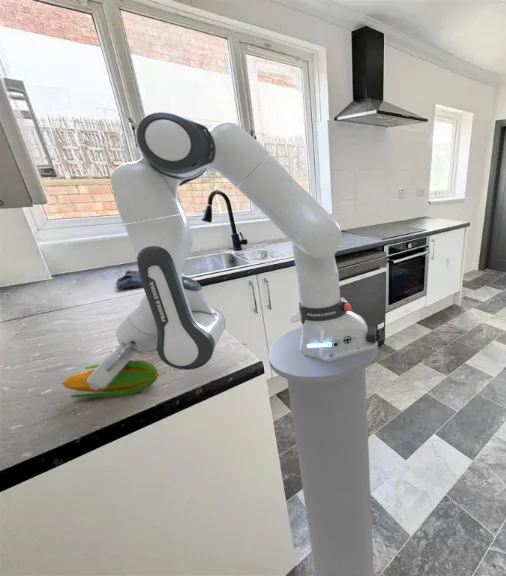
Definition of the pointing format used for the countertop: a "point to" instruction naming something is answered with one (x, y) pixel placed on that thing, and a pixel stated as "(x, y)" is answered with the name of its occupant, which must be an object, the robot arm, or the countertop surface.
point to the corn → (116, 380)
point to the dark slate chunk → (130, 280)
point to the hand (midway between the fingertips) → (104, 376)
